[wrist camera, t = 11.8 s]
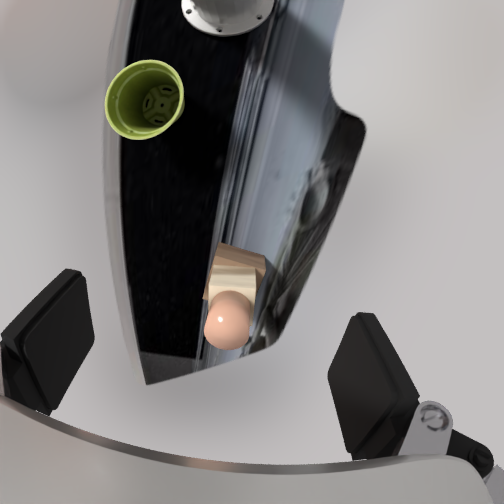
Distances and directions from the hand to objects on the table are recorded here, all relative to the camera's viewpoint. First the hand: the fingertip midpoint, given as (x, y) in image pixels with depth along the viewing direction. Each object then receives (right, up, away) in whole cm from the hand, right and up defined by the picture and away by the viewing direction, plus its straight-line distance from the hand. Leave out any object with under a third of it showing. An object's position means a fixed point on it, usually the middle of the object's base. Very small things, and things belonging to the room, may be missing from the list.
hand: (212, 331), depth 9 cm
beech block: (-1, -2, +31) cm, 31 cm away
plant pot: (-11, +23, +26) cm, 36 cm away
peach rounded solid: (-1, -4, +26) cm, 26 cm away
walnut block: (-1, 0, +35) cm, 35 cm away
